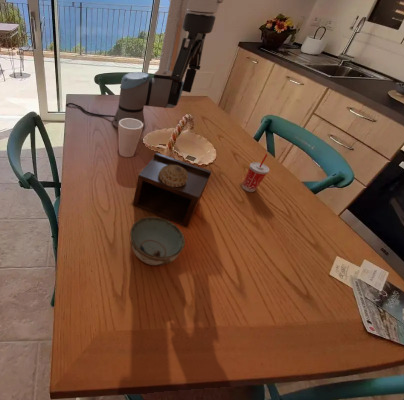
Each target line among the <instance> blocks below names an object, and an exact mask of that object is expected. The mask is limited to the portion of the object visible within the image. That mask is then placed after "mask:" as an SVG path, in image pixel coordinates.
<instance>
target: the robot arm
mask: <svg viewBox="0 0 404 400" xmlns="http://www.w3.org/2000/svg"><path fill="white" fill-rule="evenodd" d="M168 1H169V6H168V11H167V17H166V23H165V29H164V36H163V41H162V42H163V43H162V47H161V53H160V59H159V63H158V64H159V65H158V69H157V70H156V71H155V72H154V73H153V77H150V74H149V73H147V72H142V71H134V72H128V73H126V74H124V75H123V76H122V78H121V82H120V86H119V88H120V90H119V97H118V108H117V110H116V112H115V115H111V114H101V113H94V112H90V111H88V110H86V109H85V108H84V107H82V106H81V105H78V104H76V103H74V102H68V103H66V104H65V106H67V107H68V106H70V105H72V106H73V107H74V106H75V107H77V108H79V109H81V110H82V111H83V112H84V113H86V114H87V115H88V114H89V115H92V116H98V117H106V118H113V119H112V120H113V121H112V125H113V127H114V128H115V129H117V130H118V125H119V121H120V120H121V119H125V118H132V119H137V120H139V121H141V122H142V123H143V129H144V128H145V125H146V121H145V113H144V107H153V108H154V107H155V108H163V109H174V108H175V107H176V106H178V103H179V101H180V99H181V97H182V94H183V92H185V93H191V92H192V88H193V85H194V81H195V78H196V74H197V71H200V69H201V62H202V57H203V56H202V55H203V50H204V49H203V48H204V44H205V40H206V36H207V34H210V33H212V31H213V28H214V25H215V21H216V15H215V14H217V13H218V10H219V7H220V4H222V3H223V2H224V0H168ZM187 33H188V35H187ZM183 79H184V80H183Z"/></svg>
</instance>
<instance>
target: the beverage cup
mask: <svg viewBox="0 0 404 400" xmlns="http://www.w3.org/2000/svg"><path fill="white" fill-rule="evenodd" d="M267 156H268V153H266V154H265V155H264V157H263V158H262V161H261V162H256V161H255V162H251V163H250V164H249V168H248V170H247V173H246V175H245V177H244V179H243V182H242V185H241V188H242V189H243V190H244V191H246V192H248V193H249V192H250V193H254V192H255V191H256V190H257V189H258V187H259V186H260V184H261V183H262V181H263V180H264V178H265V177H266V175H267V174H269V172H270V168H269V167H268V166H267V165H266V164H264V162H265V161H266V158H267Z"/></svg>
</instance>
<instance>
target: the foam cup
mask: <svg viewBox="0 0 404 400" xmlns="http://www.w3.org/2000/svg"><path fill="white" fill-rule="evenodd" d="M143 129H144V128H143V123H142V122H141V121H139V120H137V119H132V118H125V119H121V120H120V121H119V125H118V129H117V130H118V154H119V155H120V156H121V157H124V158H132V157H133V156H135V154H136V150H137V146H138V144H139V141H140V137H141V135H142V133H143Z"/></svg>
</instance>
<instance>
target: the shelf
mask: <svg viewBox="0 0 404 400" xmlns="http://www.w3.org/2000/svg"><path fill="white" fill-rule="evenodd" d="M167 165H179V166H181V167H183V168H184V169H185V170H186V171H187V173H188V180H187V182H186V184H184V185H183V186H180V187H172V186H168V185H166V184H164V183H163V182H162V181H161V180H160V178H159V172H160V170H161V169H162V168H163V167H165V166H167ZM211 175H212V170H209V169H206V168H203V167H200V166H198V165H194V164H191V163H188V162H186V161H183V160H179V159H176V158H173V157H170V156H168V155H164V154H163V153H159V152H155V153H154V154H153V157H152V158H151V160H150V161H149V162H148V163H147V164H146V166H144V168H143V169H142V170H141V171H140V172H139V173H138V176H137V182H136V186H135V191H134V197H133V200H132V201H133V202H132V205H133V206H135V207H137V208H139V209H142V210H144V211H146V212H149V213H151V214H154V215H155V216H157V217H160V218H163V219H165V220H168V221H170V222H171V223H175V224H176V225H177V224H178V225H180V226H181V227H184V228H188V226H189V224H190V223H191V221H192V219H193V216H194V214H195V211H196V210H197V208H198V205H199V203H200V201H201V199H202V196H203V194H204V192H205V189H206V187H207V184H208V182H209V180H210V177H211Z"/></svg>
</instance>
